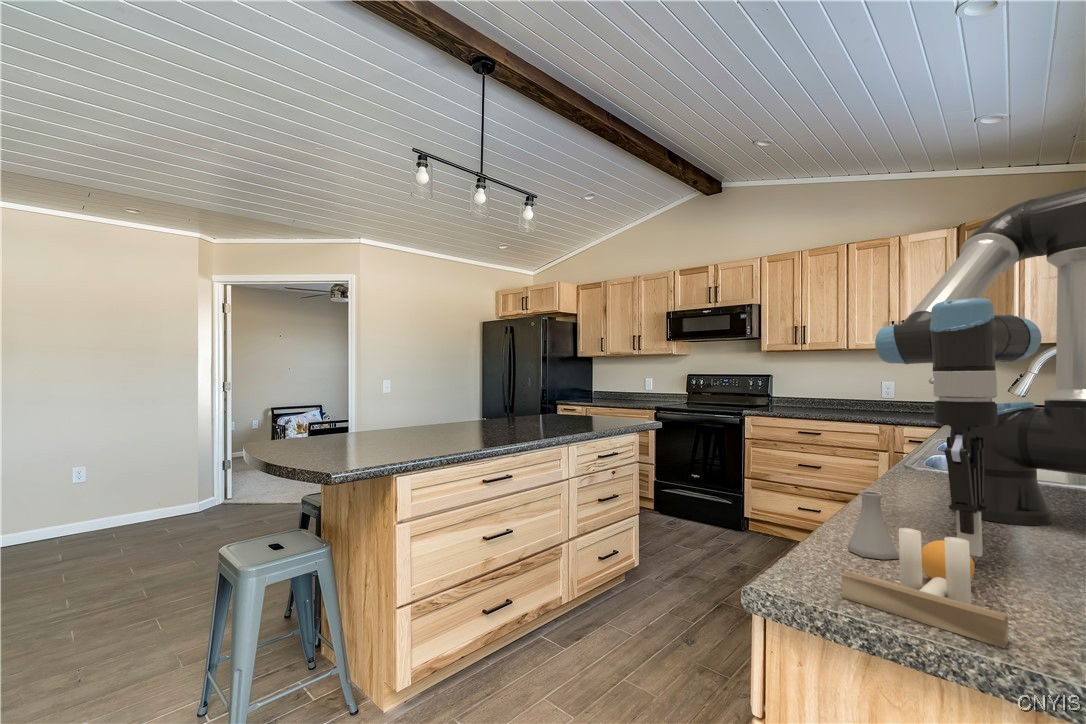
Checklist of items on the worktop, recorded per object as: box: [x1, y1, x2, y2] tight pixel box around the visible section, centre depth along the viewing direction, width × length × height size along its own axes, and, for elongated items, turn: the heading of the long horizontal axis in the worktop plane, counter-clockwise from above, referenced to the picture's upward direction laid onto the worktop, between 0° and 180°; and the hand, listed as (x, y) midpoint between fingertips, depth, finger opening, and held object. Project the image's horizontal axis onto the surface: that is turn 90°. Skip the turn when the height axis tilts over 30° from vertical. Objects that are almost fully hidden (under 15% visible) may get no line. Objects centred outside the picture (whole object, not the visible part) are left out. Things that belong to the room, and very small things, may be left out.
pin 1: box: [898, 527, 924, 590], centre depth 67 cm, size 2×2×8 cm
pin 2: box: [944, 536, 972, 605], centre depth 63 cm, size 2×2×8 cm
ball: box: [921, 539, 976, 580], centre depth 70 cm, size 6×6×6 cm
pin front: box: [919, 577, 947, 598], centre depth 64 cm, size 2×2×8 cm
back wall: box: [841, 570, 1009, 649], centre depth 60 cm, size 2×16×3 cm, turn 38°
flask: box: [847, 490, 900, 560], centre depth 82 cm, size 7×7×10 cm
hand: (970, 553), depth 76 cm, fingers closed
